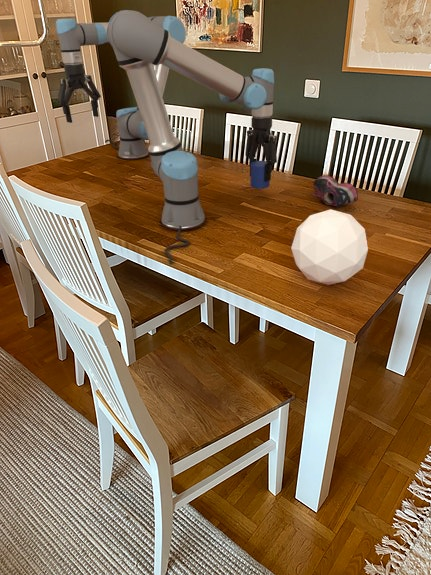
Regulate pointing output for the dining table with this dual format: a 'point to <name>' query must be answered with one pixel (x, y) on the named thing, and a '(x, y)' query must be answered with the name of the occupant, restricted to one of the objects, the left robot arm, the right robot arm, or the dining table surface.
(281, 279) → the dining table surface
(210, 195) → the dining table surface
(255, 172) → the canister
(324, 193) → the athletic shoe
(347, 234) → the sphere
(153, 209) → the dining table surface
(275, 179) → the dining table surface
